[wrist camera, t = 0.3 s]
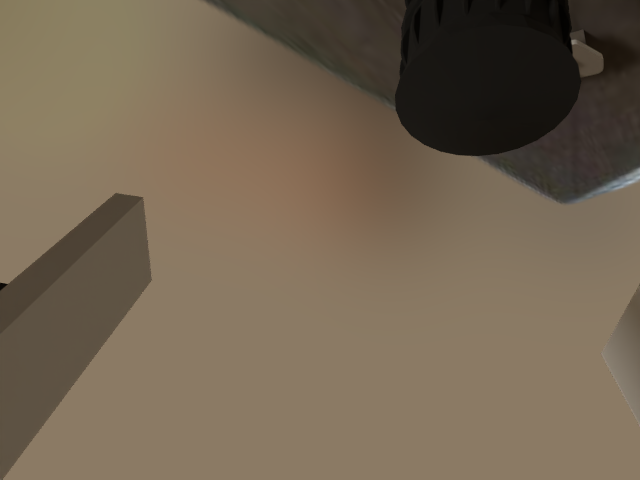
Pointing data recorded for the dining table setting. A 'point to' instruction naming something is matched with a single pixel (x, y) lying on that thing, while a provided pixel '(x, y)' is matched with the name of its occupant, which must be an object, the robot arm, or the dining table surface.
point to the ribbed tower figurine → (485, 73)
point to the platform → (585, 55)
